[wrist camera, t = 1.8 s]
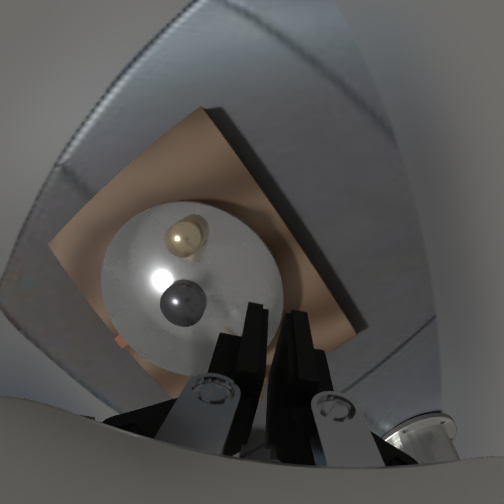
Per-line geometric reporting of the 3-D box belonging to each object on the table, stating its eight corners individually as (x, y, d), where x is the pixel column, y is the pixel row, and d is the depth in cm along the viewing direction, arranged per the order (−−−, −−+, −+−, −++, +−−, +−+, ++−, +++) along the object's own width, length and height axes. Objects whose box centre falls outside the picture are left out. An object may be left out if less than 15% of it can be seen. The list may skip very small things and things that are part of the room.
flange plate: (318, 318, 27) (325, 347, 23) (174, 393, 31) (162, 423, 26) (207, 160, 24) (192, 160, 20) (73, 272, 28) (45, 290, 23)
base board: (353, 327, 30) (366, 358, 25) (194, 408, 34) (184, 441, 29) (204, 108, 25) (188, 97, 20) (56, 240, 29) (25, 255, 24)
